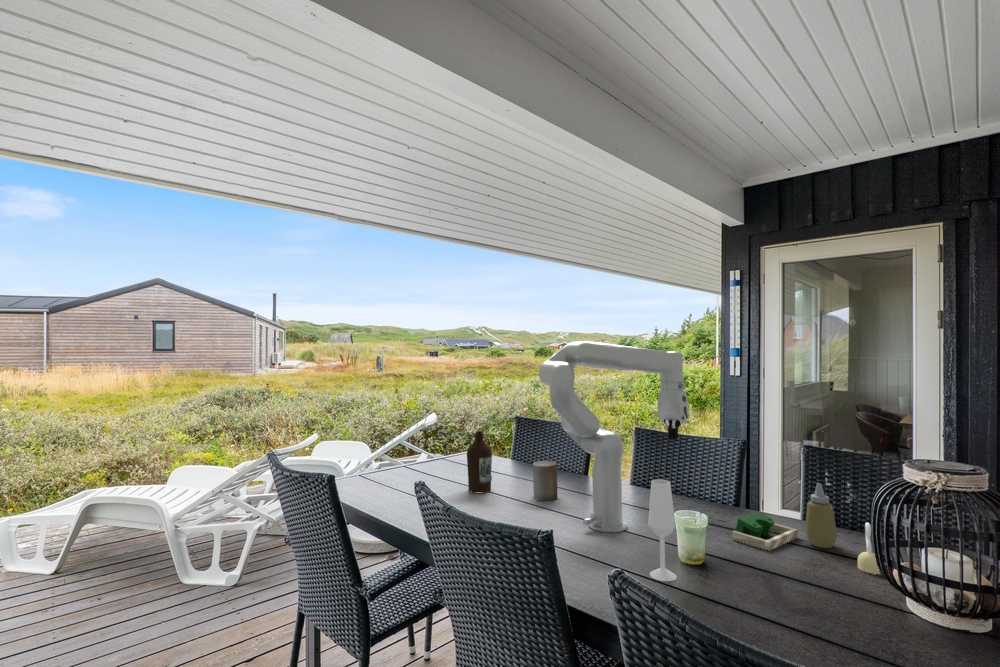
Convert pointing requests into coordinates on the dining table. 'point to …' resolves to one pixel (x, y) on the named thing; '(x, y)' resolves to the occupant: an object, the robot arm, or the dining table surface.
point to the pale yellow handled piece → (868, 555)
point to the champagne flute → (661, 522)
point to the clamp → (755, 524)
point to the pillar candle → (545, 480)
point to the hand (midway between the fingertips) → (673, 439)
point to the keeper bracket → (784, 537)
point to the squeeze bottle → (820, 520)
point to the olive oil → (479, 464)
